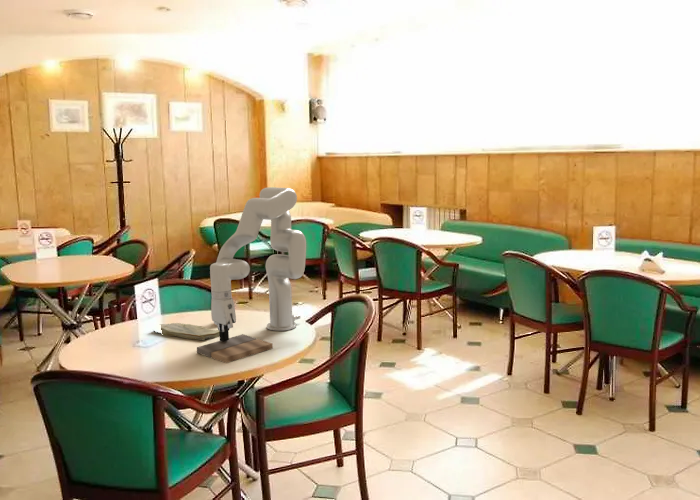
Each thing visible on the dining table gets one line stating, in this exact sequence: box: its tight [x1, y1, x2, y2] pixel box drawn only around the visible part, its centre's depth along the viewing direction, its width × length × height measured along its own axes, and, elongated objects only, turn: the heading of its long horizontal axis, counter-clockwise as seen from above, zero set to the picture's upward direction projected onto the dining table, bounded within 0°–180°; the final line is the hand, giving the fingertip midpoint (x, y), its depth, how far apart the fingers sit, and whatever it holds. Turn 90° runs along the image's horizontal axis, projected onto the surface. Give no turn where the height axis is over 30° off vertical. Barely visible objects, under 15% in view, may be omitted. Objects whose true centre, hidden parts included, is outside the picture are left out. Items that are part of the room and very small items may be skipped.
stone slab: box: [160, 322, 220, 341], centre depth 270 cm, size 12×4×30 cm
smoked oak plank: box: [196, 333, 257, 359], centre depth 250 cm, size 22×9×2 cm, turn 138°
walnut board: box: [211, 338, 274, 364], centre depth 244 cm, size 22×9×2 cm, turn 138°
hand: (224, 340), depth 251 cm, fingers closed
